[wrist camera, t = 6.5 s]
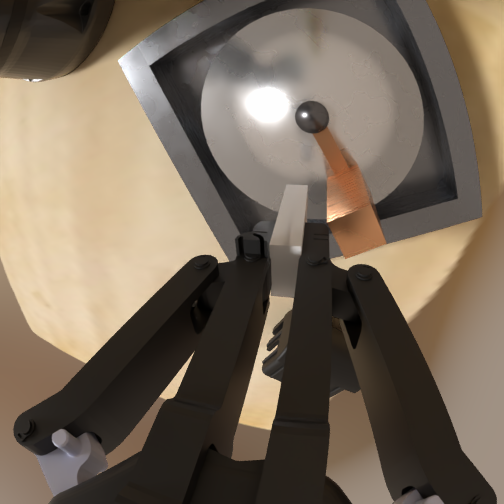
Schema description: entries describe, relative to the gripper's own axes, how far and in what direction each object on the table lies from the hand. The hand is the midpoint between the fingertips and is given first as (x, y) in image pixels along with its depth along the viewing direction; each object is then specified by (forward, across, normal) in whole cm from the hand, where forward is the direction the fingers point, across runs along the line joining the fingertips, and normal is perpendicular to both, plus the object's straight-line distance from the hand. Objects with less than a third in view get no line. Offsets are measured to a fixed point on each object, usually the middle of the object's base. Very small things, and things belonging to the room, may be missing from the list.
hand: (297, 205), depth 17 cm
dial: (+4, -1, -5) cm, 7 cm away
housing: (+6, -1, -5) cm, 8 cm away
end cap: (+6, -3, +18) cm, 19 cm away
